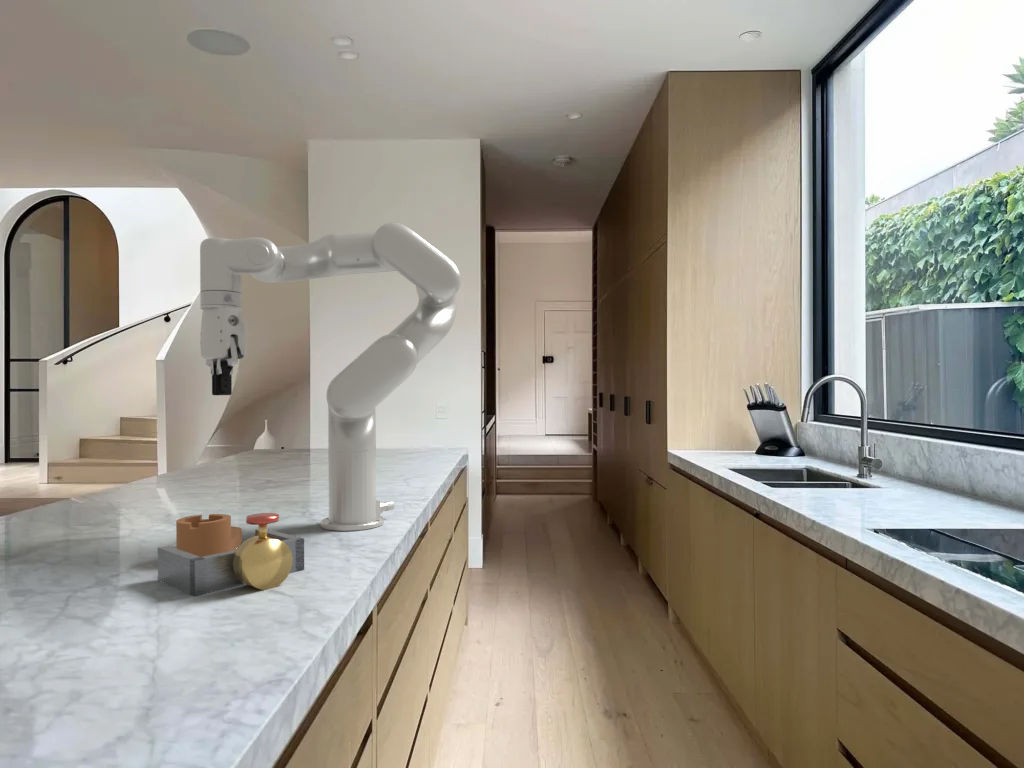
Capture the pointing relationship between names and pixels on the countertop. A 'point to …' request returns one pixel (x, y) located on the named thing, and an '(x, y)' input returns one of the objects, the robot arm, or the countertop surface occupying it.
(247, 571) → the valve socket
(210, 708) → the countertop surface
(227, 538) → the bracket
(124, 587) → the countertop surface
